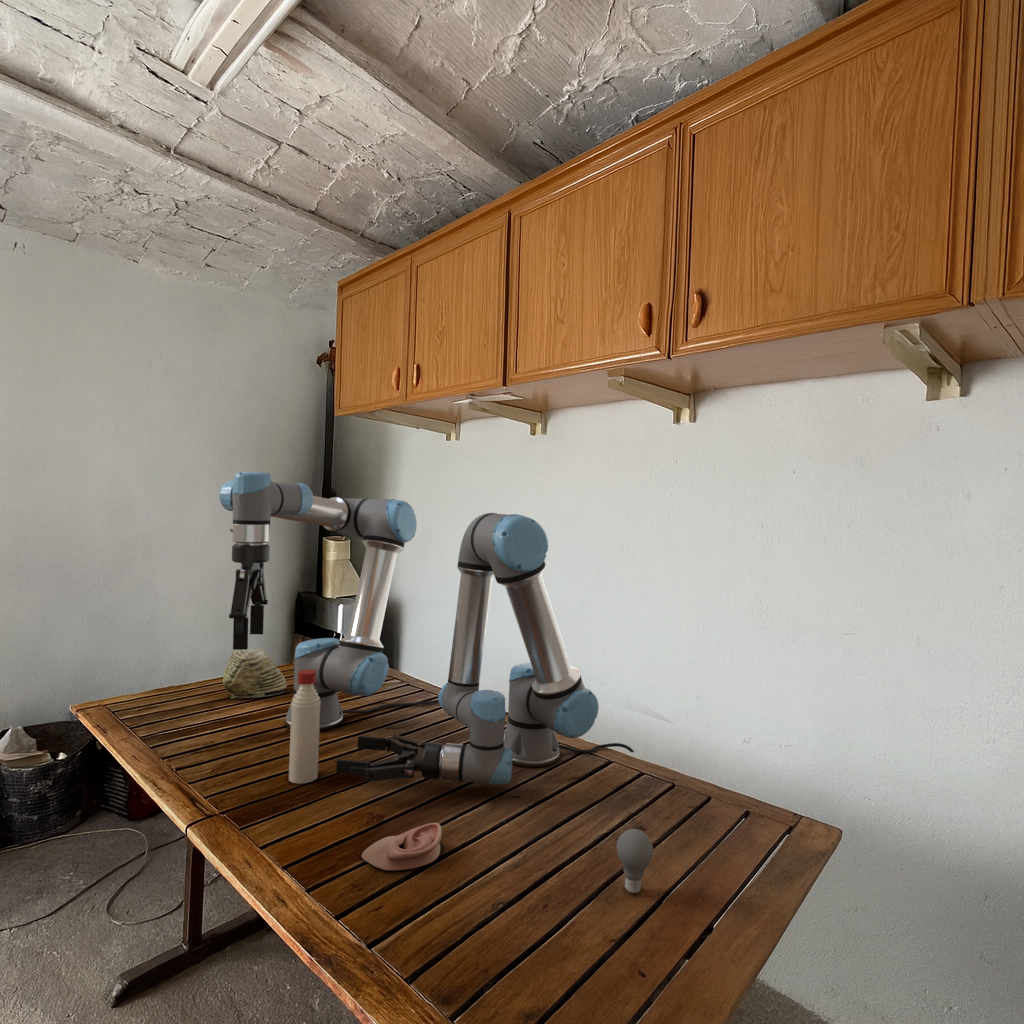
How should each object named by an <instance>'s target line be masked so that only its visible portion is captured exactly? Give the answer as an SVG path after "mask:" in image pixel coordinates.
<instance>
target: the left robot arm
mask: <svg viewBox="0 0 1024 1024" xmlns="http://www.w3.org/2000/svg"><path fill="white" fill-rule="evenodd" d="M219 503H220V504H221V506H222V507H223V508H224V509H225V510H226V511H229V512H232V527H230V528H229V532H231V533H232V540H231V541H232V542H233V543H234V544H233V545H232V546H231V561H232V562H233V563H236V564H238V563H239V564H241V566H240V569H239V568H236V570H235V580H234V588H233V595H232V602H231V608H230V613H229V614H228V618H229V619H233V623H232V624H233V628H232V629H233V631H232V634H233V635H232V650H233V651H235V650H247V649H248V648H249V635H264V624H265V623H264V618H265V617H264V616H265V605H268V603H269V600H268V599H267V598H268V597H267V591H266V581H265V564H264V563H268V562H269V561H270V554H271V553H270V552H271V551H270V549H271V548H270V545H269V544H268V543H270V541H271V518H276V519H282V520H288V521H293V522H301V523H305V524H311V525H316V526H317V525H318V526H323V527H324V529H325V530H327V531H332V532H336V533H340V534H342V535H343V534H344V535H348V536H351V537H355V538H359V539H362V541H361V542H362V544H363V545H364V547H365V554H364V559H363V562H362V568H361V572H360V577H359V582H358V586H357V591H356V596H355V600H354V605H353V610H352V614H351V618H350V622H349V623H350V624H349V628H348V632H347V634H346V636H344V637H343V638H342V639H340V640H339V638H335V637H322V638H313V639H308V640H304V641H302V642H299V643H298V644H297V645H296V647H295V652H294V653H295V654H294V657H293V662H294V663H293V665H294V666H293V695H292V696H293V697H292V699H293V698H294V697H295V694H296V693H297V690H299V687H300V685H301V684H299V683H298V671H300V670H306V669H311V670H316V682H315V683H313V686H315V689H316V692H317V693H318V696H319V697H320V701H321V707H320V732H325V731H329V730H332V729H335V728H337V727H339V726H340V725H342V723H343V722H344V714H367V713H368V714H369V713H372V712H375V711H378V710H380V709H385V708H392V707H409V706H420V705H421V706H422V705H429V704H436V703H439V700H438V699H433V700H426V701H416V702H414V701H413V702H401V703H389V704H388V703H387V704H382V705H379V706H375V707H372V708H369V709H362V710H361V709H359V710H358V709H346V710H343V709H342V706H341V702H340V699H339V695H338V692H341V693H345V694H349V695H352V696H361V697H370V696H372V695H374V694H376V693H377V692H378V691H379V690H380V689H381V687H382V686H383V685H384V683H385V681H386V679H387V677H388V673H389V668H390V666H389V665H390V664H389V659H388V657H387V655H385V654H384V649H385V647H384V644H383V643H382V641H381V640H380V639H381V634H382V630H383V624H384V619H385V615H386V614H385V613H386V609H387V605H388V600H389V595H390V590H391V586H392V580H393V576H394V571H395V566H396V561H397V556H398V554H400V553H401V552H402V551H404V548H405V543H408V542H410V541H412V540H413V538H414V537H415V535H416V533H417V523H418V522H417V516H416V513H415V511H414V508H413V507H412V505H411V504H410V503H408V502H407V501H405V500H401V499H395V498H391V499H390V498H389V499H388V498H366V497H360V498H359V497H358V498H357V497H356V498H345V497H344V498H343V497H338V496H333V497H330V498H326V497H321V496H317V495H313V491H312V489H311V488H310V487H309V485H307V484H305V483H300V482H297V481H295V482H294V481H292V482H290V481H289V482H288V481H287V482H286V481H285V482H284V481H273V480H272V475H271V474H270V473H269V472H260V471H238V472H236V473H235V474H234V477H233V480H230V481H227V482H225V483H224V484H223V485H222V486H221V488H220V489H219ZM250 603H251V605H250ZM249 607H250V612H249ZM248 613H250V614H249V615H250V617H248ZM249 618H250V619H249ZM291 703H292V701H291V702H290V704H289V708H288V711H287V713H286V715H285V726H286V728H287V729H289V730H290V725H291Z"/></svg>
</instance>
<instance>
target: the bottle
mask: <svg viewBox="0 0 1024 1024" xmlns="http://www.w3.org/2000/svg"><path fill="white" fill-rule="evenodd" d="M291 702H292V703H291ZM291 702H290V704H291V725H290V729H289V757H288V781H289V782H290V783H293V784H297V785H298V784H308V783H312V782H314V781H316V780H317V779H318V777H319V757H320V756H319V755H320V754H319V753H320V732H321V731H320V707H321V701H320V697H319V696H318V693H317V692H316V689H315V686H313V684H301V685H300V687H299V690H297V693H296V694H295V697H294V698H293V697H292V699H291Z"/></svg>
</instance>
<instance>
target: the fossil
mask: <svg viewBox="0 0 1024 1024" xmlns="http://www.w3.org/2000/svg"><path fill="white" fill-rule="evenodd" d="M222 676H223V677H222V685H223V687H224V688H225V690H226V691H228V693H229V698H230V699H250V698H264V697H271V696H275V695H281V694H284V693H285V691H286V689H287V687H288V686H287V680H286V678H285V676H284V674H283V673H282V672H281V669H279V668H278V667H277V665H276V663H275V662H274V660H273V659H272V658H271V657H270V656H269V655H268V654H267V653H266V652H265V650H264V649H263V648H260V647H258V648H251V647H248V649H247V650H233V651H232V653H231V656H230V657H229V659H228V660H227V663H226V666H225V668H224V671H223V675H222Z"/></svg>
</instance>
